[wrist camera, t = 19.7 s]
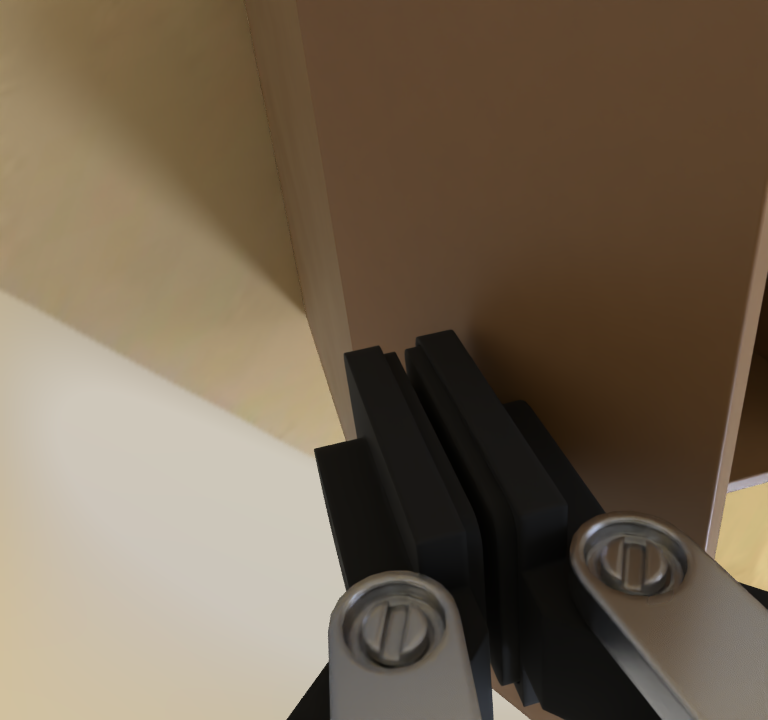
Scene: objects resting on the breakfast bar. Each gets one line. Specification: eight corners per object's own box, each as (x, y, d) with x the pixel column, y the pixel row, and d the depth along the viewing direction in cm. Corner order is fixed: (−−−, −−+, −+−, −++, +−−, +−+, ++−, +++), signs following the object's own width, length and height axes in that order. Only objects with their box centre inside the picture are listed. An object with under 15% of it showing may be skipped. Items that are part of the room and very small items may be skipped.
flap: (405, 599, 18) (393, 609, 17) (295, -144, 10) (270, -141, 9) (669, 806, 13) (657, 823, 13) (867, -256, 5) (846, -256, 5)
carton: (306, 316, 30) (391, 585, 18) (221, -113, 22) (274, -143, 10) (618, 249, 32) (884, 451, 20) (645, -169, 24) (1114, -252, 12)
